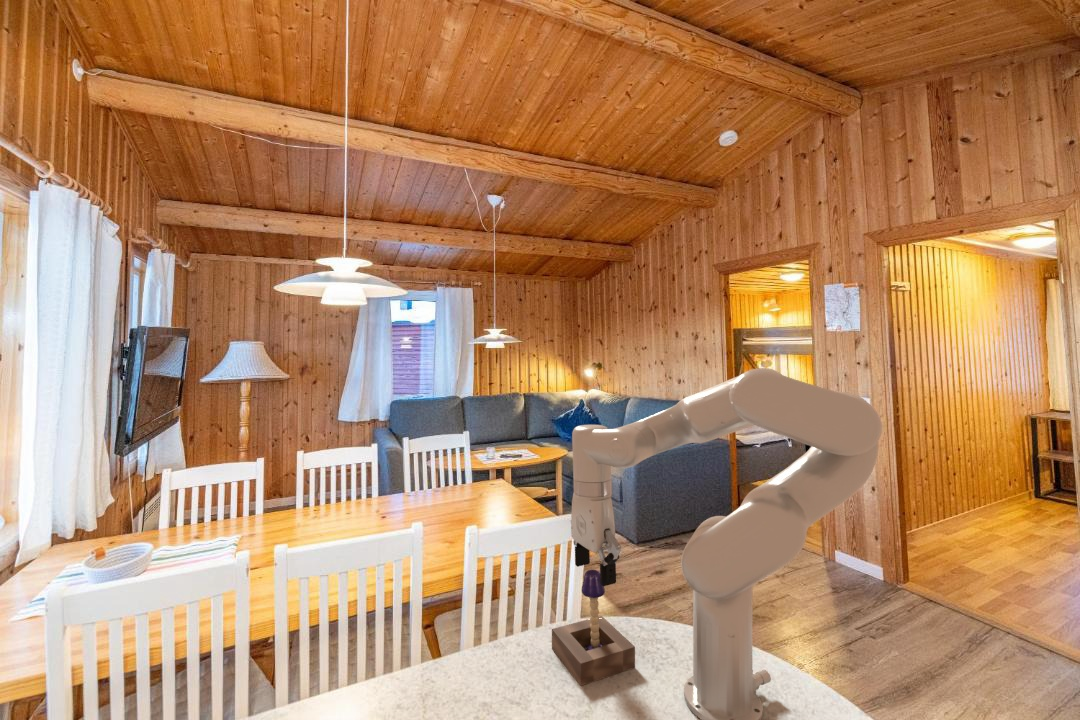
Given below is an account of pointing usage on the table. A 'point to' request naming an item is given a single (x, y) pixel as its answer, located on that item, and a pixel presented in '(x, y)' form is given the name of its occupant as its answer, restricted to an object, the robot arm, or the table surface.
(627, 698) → the table surface
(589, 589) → the toy lamp
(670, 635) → the table surface
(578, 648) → the socket block
